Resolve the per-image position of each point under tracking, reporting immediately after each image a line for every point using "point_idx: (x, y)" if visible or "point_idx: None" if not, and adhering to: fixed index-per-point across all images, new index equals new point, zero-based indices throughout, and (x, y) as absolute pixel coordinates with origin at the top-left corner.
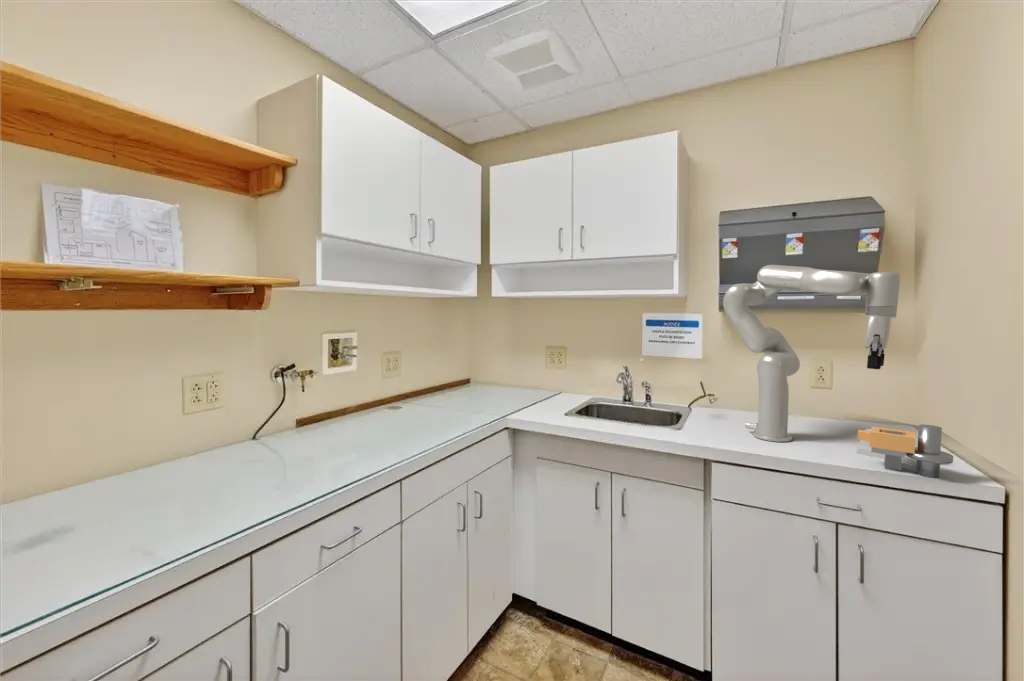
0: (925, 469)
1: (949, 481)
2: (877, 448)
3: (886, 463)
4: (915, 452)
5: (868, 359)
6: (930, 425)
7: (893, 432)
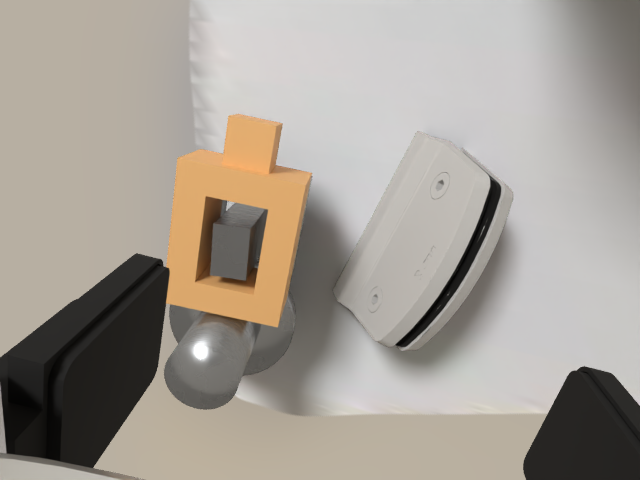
0: None
1: None
2: None
3: None
4: None
5: (67, 320)
6: (228, 385)
7: (225, 248)
